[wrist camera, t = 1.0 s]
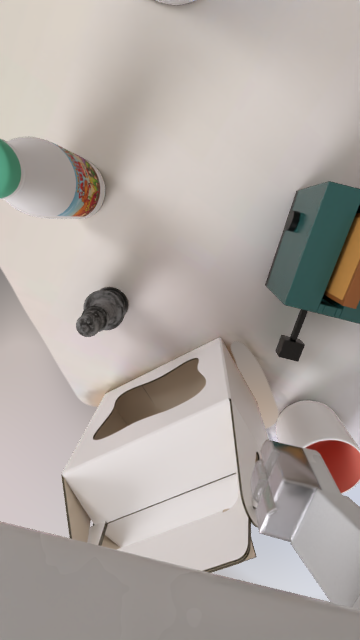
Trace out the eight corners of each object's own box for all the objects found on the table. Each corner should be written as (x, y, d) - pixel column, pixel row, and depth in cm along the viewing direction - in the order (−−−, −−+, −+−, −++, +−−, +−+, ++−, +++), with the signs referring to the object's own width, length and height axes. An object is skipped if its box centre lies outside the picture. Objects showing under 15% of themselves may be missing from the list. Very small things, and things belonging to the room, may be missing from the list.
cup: (261, 429, 53) (274, 475, 43) (299, 386, 50) (322, 425, 40) (309, 457, 54) (332, 508, 44) (348, 416, 51) (382, 461, 41)
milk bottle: (76, 230, 44) (-17, 238, 25) (39, 182, 43) (-90, 152, 24) (118, 196, 43) (51, 177, 24) (81, 145, 41) (-22, 80, 22)
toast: (335, 213, 37) (381, 211, 28) (347, 216, 37) (397, 215, 28) (308, 285, 40) (342, 305, 31) (319, 288, 40) (356, 309, 31)
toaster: (331, 301, 45) (370, 326, 35) (259, 283, 45) (277, 303, 35) (369, 209, 41) (427, 206, 31) (290, 189, 41) (321, 179, 31)
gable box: (144, 451, 56) (92, 665, 29) (103, 394, 52) (2, 574, 26) (258, 401, 51) (322, 601, 24) (221, 335, 48) (247, 480, 21)
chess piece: (137, 305, 47) (117, 333, 36) (111, 329, 49) (84, 363, 37) (109, 277, 46) (80, 295, 35) (83, 302, 48) (47, 329, 36)
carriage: (294, 355, 45) (298, 361, 43) (275, 351, 45) (278, 356, 43) (349, 214, 38) (357, 213, 37) (327, 208, 38) (334, 207, 37)
